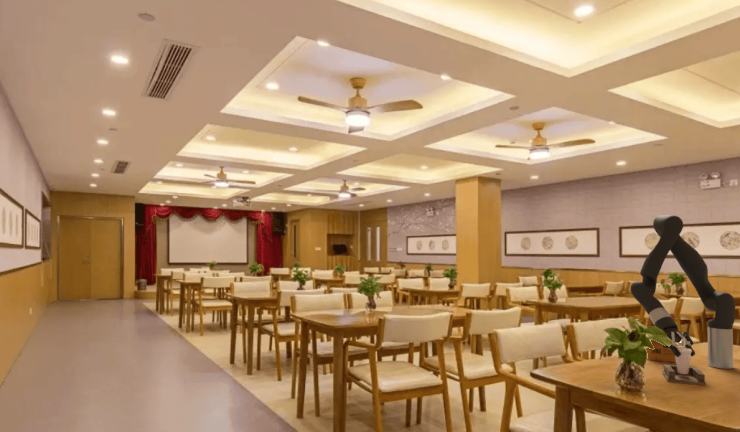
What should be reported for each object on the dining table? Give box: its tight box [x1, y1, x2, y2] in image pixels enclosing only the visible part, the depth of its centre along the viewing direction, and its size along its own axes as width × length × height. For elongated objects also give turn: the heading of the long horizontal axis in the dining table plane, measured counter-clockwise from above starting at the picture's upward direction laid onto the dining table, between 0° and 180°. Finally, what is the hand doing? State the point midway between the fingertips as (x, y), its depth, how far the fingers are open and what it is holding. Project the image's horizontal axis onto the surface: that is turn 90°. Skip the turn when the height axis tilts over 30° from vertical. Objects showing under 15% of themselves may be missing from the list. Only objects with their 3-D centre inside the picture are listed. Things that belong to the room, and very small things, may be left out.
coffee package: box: [645, 313, 676, 363], centre depth 237 cm, size 10×12×22 cm
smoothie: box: [675, 338, 692, 374], centre depth 203 cm, size 6×6×14 cm
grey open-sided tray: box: [661, 364, 707, 386], centre depth 203 cm, size 13×13×4 cm
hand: (686, 355), depth 202 cm, fingers closed on smoothie, 6 cm apart
